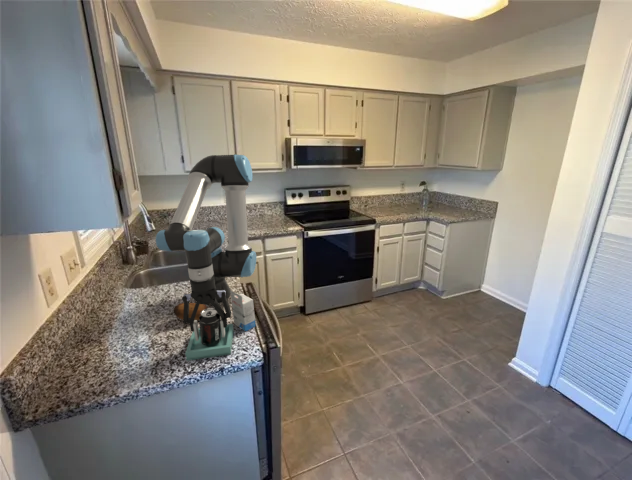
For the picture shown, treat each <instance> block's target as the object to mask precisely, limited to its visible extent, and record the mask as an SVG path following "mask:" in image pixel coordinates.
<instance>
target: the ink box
mask: <svg viewBox="0 0 632 480" xmlns="http://www.w3.org/2000/svg"><path fill="white" fill-rule="evenodd" d="M230 292H231V295H230V301H231V307H232V310H231V311H232V317H233V323H234V324H233V325H235V326H237V327H238V328H240V329H241V330H243V331H244V332H248V331H250V330H251V329H253V328H255V327H256V318H255V309H254V308H255V305H254V299H252V298H250V297H249V296H247V295H245V294H243V293H237V292H235V291H232V290H231V291H230Z"/></svg>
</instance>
